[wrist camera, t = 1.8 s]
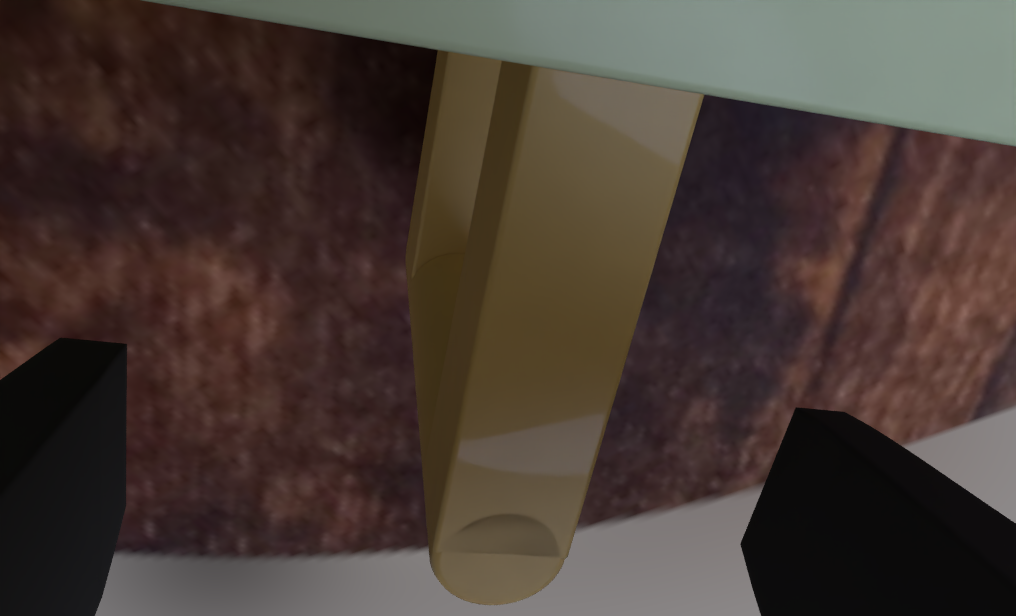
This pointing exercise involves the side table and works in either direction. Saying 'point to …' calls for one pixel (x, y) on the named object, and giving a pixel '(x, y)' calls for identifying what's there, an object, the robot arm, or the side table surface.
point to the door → (599, 208)
